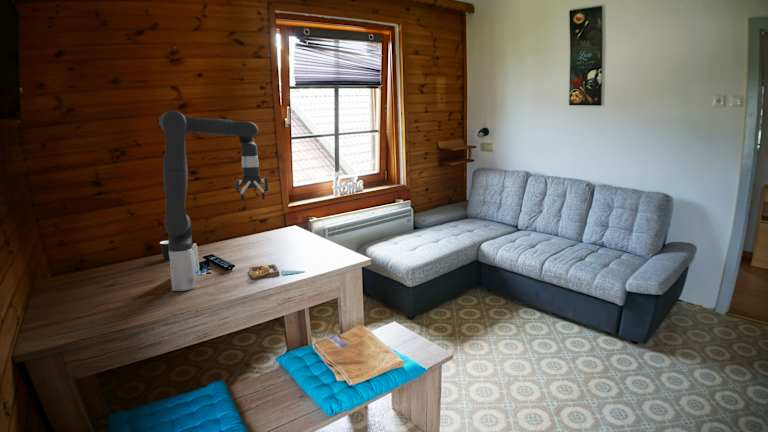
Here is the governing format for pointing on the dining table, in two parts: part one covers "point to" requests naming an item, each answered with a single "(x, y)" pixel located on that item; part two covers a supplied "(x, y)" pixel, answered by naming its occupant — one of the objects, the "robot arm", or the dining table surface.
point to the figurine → (258, 272)
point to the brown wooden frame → (268, 274)
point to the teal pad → (290, 272)
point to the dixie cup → (165, 250)
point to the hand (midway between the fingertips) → (253, 201)
